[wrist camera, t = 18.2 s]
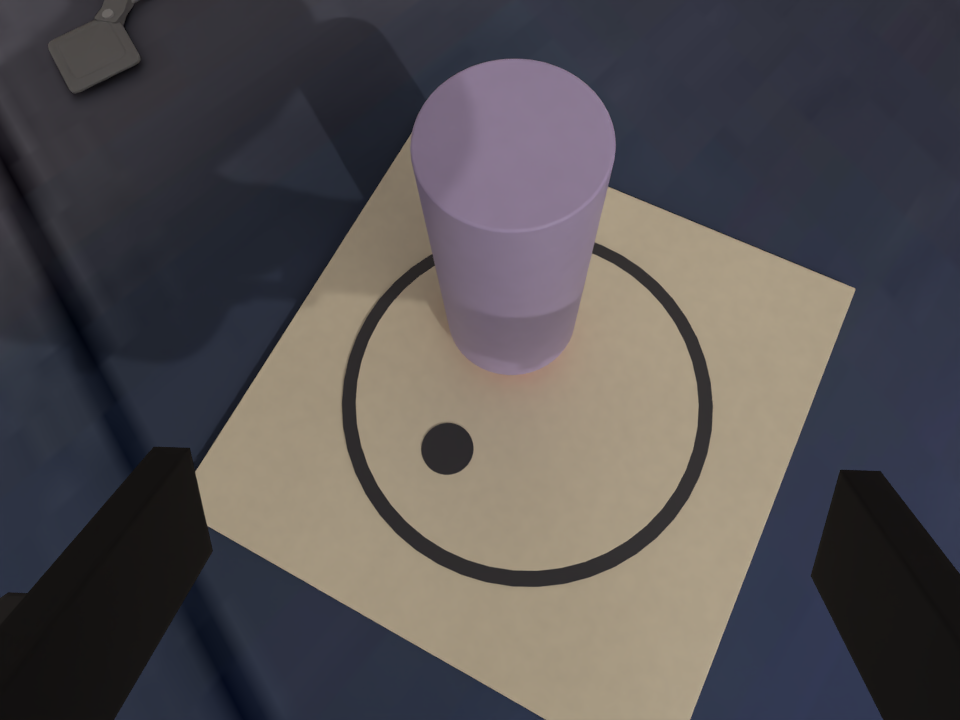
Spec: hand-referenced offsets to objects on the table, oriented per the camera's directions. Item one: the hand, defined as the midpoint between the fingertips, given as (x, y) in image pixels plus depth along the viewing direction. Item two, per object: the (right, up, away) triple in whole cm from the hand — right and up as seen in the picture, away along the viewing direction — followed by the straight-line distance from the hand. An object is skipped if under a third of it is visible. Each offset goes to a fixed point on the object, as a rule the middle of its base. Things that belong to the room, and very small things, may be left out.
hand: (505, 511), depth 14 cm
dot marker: (+1, +4, +11) cm, 12 cm away
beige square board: (+1, +2, +11) cm, 11 cm away
